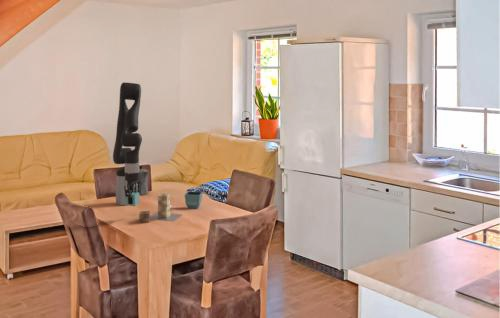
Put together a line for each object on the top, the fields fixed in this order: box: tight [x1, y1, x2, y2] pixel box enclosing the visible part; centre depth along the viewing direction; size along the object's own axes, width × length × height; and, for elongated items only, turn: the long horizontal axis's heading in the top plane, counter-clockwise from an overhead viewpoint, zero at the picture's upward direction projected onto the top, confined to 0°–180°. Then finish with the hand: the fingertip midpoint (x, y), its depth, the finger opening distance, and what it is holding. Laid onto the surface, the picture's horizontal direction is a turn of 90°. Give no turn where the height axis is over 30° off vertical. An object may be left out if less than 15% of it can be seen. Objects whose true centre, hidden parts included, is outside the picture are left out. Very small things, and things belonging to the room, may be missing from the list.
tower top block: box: [157, 193, 171, 208], centre depth 290 cm, size 5×5×6 cm
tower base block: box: [157, 204, 171, 218], centre depth 291 cm, size 5×5×6 cm
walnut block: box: [138, 210, 151, 224], centre depth 282 cm, size 5×5×6 cm
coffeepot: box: [138, 165, 150, 196], centre depth 352 cm, size 15×9×18 cm, turn 55°
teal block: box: [125, 192, 140, 207], centre depth 289 cm, size 5×5×6 cm
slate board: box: [150, 212, 183, 222], centre depth 291 cm, size 16×14×1 cm
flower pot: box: [184, 191, 203, 210], centre depth 314 cm, size 9×9×9 cm
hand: (132, 202), depth 289 cm, fingers closed on teal block, 5 cm apart
